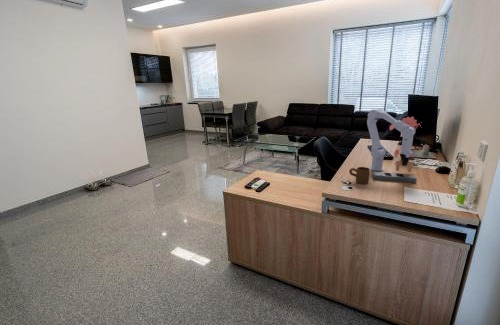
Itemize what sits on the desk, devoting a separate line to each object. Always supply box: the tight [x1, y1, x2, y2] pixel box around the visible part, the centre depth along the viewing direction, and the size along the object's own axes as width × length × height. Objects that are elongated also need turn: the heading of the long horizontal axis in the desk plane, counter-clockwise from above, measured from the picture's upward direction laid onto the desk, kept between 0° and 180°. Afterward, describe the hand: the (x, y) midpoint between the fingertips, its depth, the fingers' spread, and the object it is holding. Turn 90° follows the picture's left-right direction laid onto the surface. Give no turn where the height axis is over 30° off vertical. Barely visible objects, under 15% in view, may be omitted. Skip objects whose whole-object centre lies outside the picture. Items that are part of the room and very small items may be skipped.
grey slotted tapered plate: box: [372, 171, 418, 184], centre depth 165 cm, size 8×24×3 cm, turn 70°
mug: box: [348, 166, 371, 185], centre depth 161 cm, size 12×8×9 cm, turn 70°
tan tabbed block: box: [394, 159, 414, 173], centre depth 170 cm, size 3×10×7 cm, turn 70°
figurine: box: [389, 116, 421, 158], centre depth 209 cm, size 15×26×35 cm, turn 69°
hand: (403, 165), depth 170 cm, fingers closed on tan tabbed block, 3 cm apart
